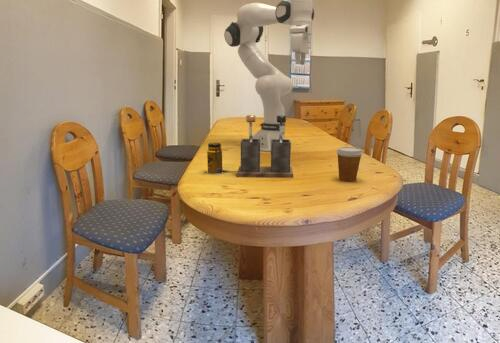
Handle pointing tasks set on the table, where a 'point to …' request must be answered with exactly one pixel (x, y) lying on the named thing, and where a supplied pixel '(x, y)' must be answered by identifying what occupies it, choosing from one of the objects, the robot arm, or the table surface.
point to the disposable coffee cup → (348, 163)
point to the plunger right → (281, 125)
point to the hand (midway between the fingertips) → (300, 64)
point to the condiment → (215, 159)
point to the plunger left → (250, 125)
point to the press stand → (278, 159)
